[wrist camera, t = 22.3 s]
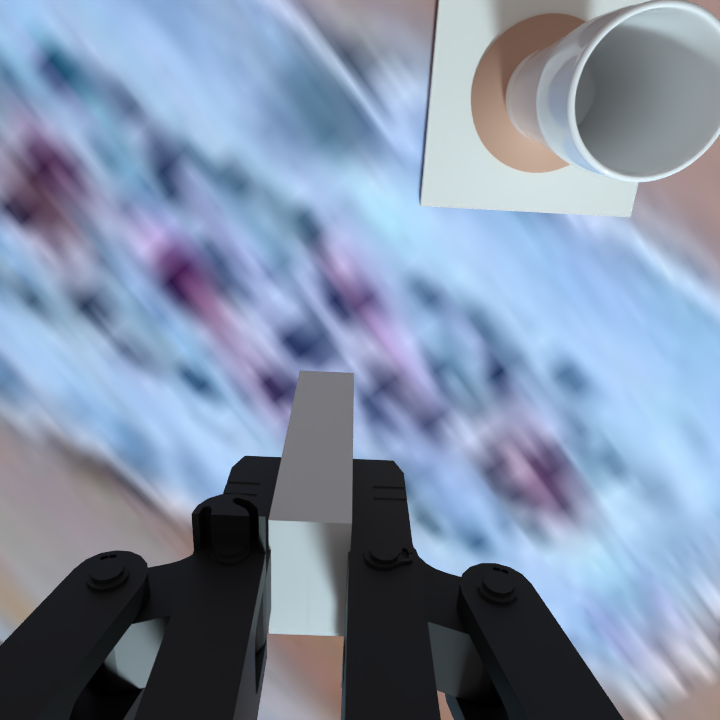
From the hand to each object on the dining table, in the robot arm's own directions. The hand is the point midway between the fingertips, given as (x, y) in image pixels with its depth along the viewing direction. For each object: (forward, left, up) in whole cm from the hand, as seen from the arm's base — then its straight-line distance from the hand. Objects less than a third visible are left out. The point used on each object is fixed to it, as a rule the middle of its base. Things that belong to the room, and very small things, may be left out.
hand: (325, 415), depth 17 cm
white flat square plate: (+12, +9, -26) cm, 30 cm away
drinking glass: (+12, +9, -26) cm, 30 cm away
